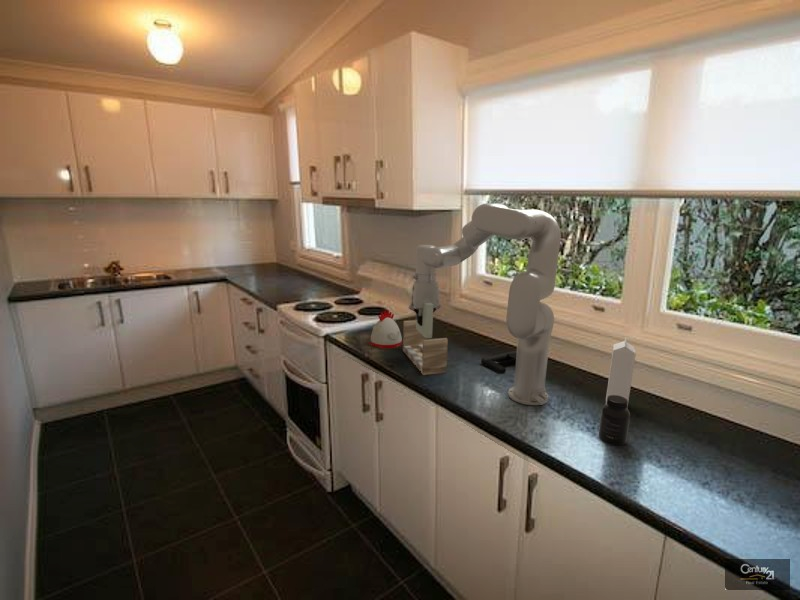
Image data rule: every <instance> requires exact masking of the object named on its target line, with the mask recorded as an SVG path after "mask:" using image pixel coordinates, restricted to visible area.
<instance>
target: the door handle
mask: <svg viewBox="0 0 800 600" xmlns="http://www.w3.org/2000/svg"><path fill="white" fill-rule="evenodd" d="M516 354H517V349H516V350H512V351H507V352H504V353H498V354H495V355H489V356H486V357H482V358H481V359H480V363H481V364H482V365H483V366H486V367H488V368H489V369H491V370H493V371H494V372H497V373H498V374H504V373H505V372H506V371H507V367H512V366H516Z"/></svg>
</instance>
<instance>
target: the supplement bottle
mask: <svg viewBox="0 0 800 600" xmlns="http://www.w3.org/2000/svg"><path fill="white" fill-rule="evenodd" d="M627 403H628V404H629V401H627V399H626V398H624V397H621V396H618V395H610V396H608V398H607V404H606V403H605V404H604V405H603V406H602V408H601V412H600V413H601V414H600V422H599V429H598V437H599V439H600V440H601V441H602V442H603V443H605V444H608V445H611V446H616V447H621V446H624V445H625V444H626V443H627V442H628V441H627V440H628V433H629V428H630V427H629V426H630V419H631V412H630V410H629V409H628V407H627Z"/></svg>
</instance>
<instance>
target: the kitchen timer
mask: <svg viewBox="0 0 800 600" xmlns="http://www.w3.org/2000/svg"><path fill="white" fill-rule="evenodd" d="M377 316H378V319H379V320H378V321H377V322H376V324H375V325H374V326H373V327H372V332H371V335H370V345H371V344H372V345H373V346H372V345H371V346H372V347H374V346H376V347H375V348H377V347H379V348H378V349H387V348H388V349H395V347H396V348H398V346H399V347H400V346H401V345H403V339H402V338H403V336H402V333H401V331H400V330H401V329H400V328H399V325H398V324H397V322H396V321H395V320H394V316H395V314H394V313H392V311H390V310H388V309H387V310H384V311H380V315H379V314H378V315H377Z"/></svg>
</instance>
